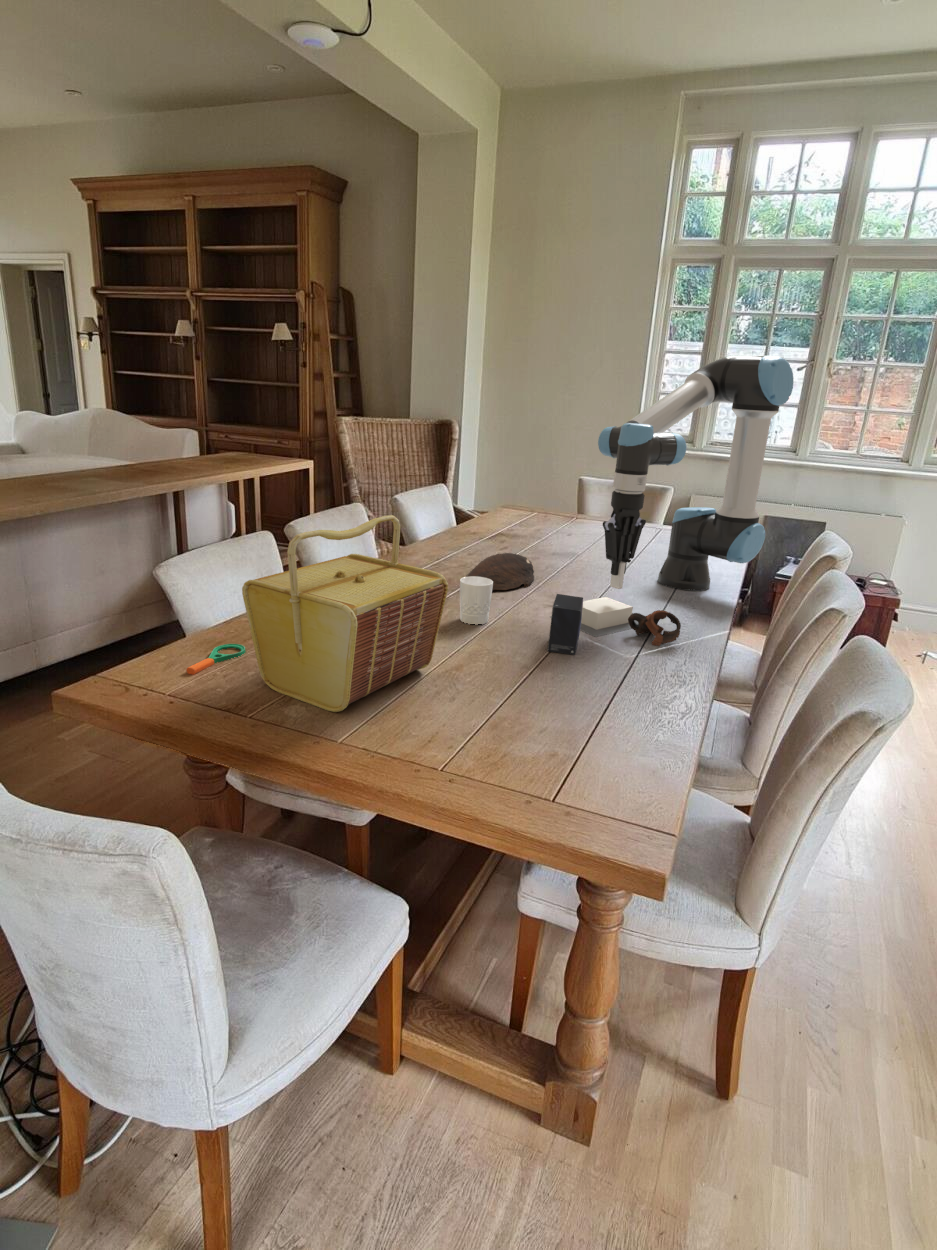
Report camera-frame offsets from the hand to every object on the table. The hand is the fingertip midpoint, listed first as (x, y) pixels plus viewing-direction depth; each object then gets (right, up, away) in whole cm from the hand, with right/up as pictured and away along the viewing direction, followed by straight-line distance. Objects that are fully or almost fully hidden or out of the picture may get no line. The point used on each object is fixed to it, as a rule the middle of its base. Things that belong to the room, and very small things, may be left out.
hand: (616, 587), depth 175 cm
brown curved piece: (+6, -13, -10) cm, 17 cm away
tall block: (+1, -5, +3) cm, 6 cm away
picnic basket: (-59, -20, -41) cm, 75 cm away
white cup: (-35, -9, -4) cm, 36 cm away
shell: (-27, +4, +34) cm, 43 cm away
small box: (-15, -14, -17) cm, 27 cm away
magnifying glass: (-86, -17, -35) cm, 95 cm away
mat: (-3, -8, +1) cm, 9 cm away
